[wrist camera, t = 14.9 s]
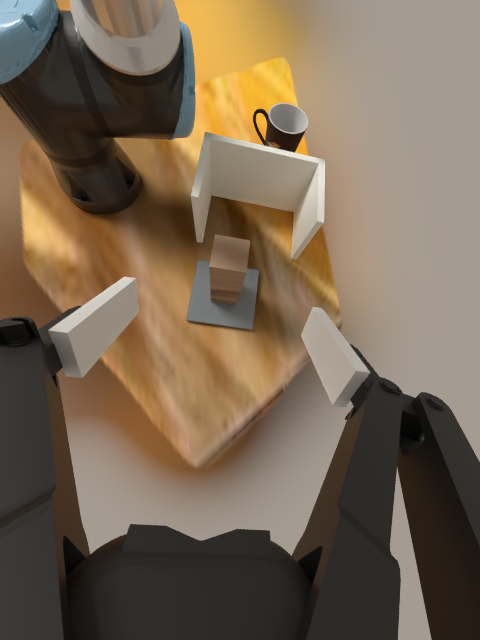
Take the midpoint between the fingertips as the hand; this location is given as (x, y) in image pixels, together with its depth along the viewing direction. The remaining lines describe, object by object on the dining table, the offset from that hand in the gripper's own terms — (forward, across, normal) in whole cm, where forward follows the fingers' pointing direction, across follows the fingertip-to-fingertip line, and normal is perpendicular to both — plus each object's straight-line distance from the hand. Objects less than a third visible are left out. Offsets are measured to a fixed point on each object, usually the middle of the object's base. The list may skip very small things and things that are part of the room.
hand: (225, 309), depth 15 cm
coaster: (+25, 0, -10) cm, 27 cm away
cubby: (+37, +4, +2) cm, 37 cm away
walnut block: (+24, 0, -9) cm, 26 cm away
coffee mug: (+52, +7, +16) cm, 55 cm away
